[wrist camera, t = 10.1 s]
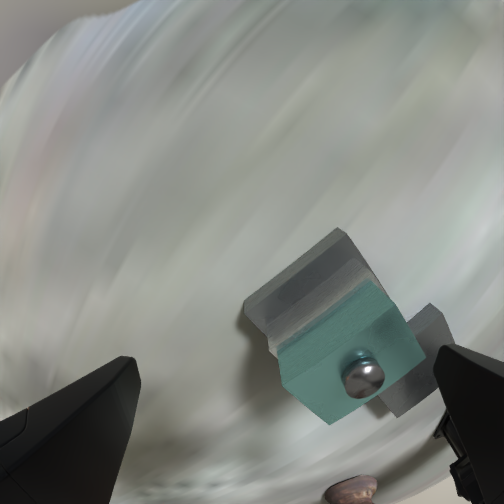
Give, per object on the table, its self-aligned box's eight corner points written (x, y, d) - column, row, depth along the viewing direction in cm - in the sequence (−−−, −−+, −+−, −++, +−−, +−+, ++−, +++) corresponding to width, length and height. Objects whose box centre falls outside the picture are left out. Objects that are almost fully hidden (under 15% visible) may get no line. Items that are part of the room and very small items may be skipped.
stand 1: (391, 307, 21) (402, 319, 19) (309, 368, 22) (314, 383, 20) (337, 227, 19) (346, 233, 17) (244, 300, 20) (244, 313, 18)
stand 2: (453, 354, 22) (463, 365, 20) (390, 405, 24) (397, 418, 22) (429, 302, 21) (442, 313, 19) (355, 363, 22) (362, 377, 20)
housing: (309, 369, 20) (330, 440, 13) (266, 324, 19) (274, 397, 12) (389, 309, 19) (439, 364, 12) (353, 256, 17) (405, 302, 11)
